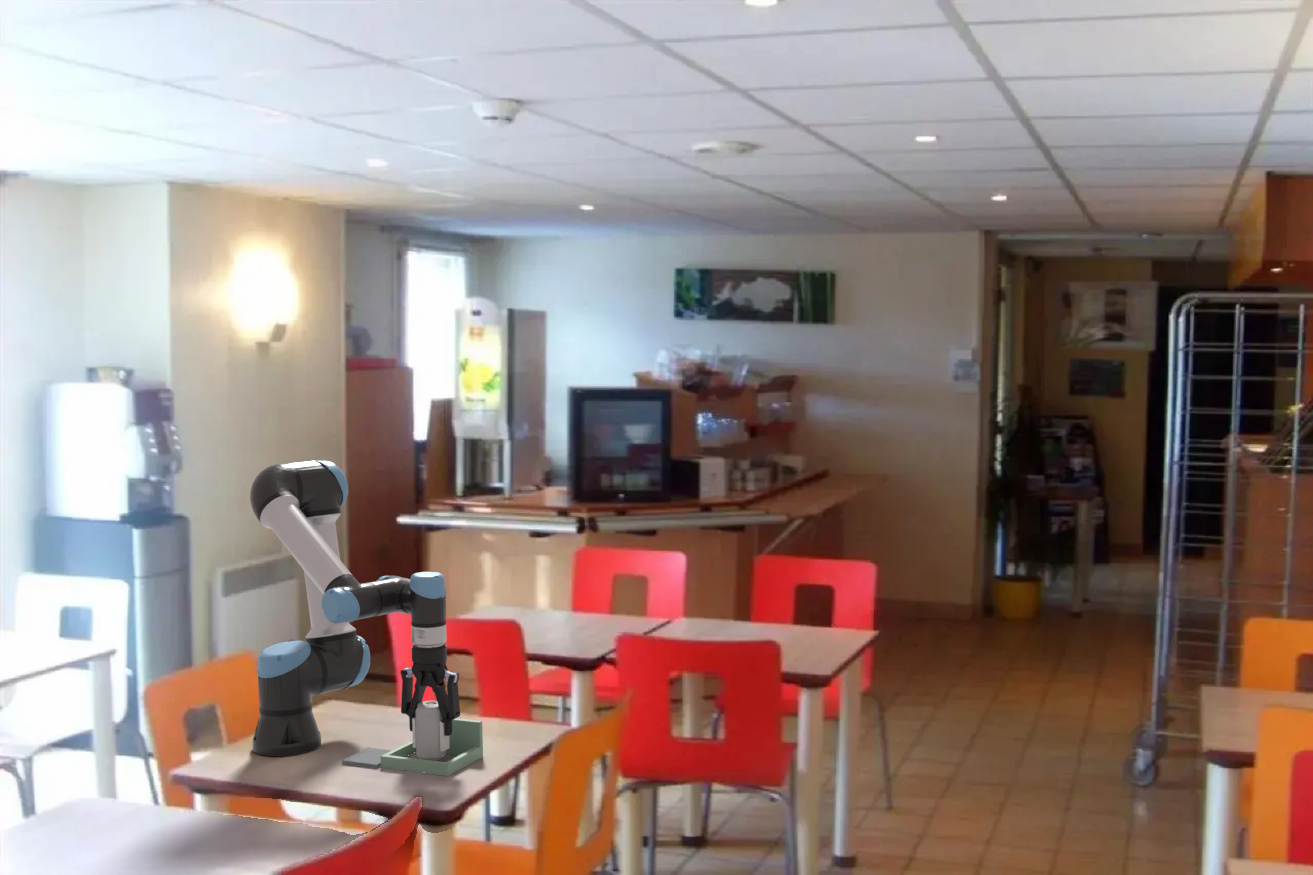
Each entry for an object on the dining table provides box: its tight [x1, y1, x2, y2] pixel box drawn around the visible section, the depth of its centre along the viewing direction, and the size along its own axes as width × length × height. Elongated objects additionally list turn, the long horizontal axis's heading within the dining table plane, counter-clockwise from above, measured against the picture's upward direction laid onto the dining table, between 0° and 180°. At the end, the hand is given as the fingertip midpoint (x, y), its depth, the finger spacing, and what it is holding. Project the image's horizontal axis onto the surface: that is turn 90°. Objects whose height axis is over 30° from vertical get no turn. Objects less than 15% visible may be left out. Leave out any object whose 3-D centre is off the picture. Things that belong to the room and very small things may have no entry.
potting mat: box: [341, 747, 393, 769], centre depth 298 cm, size 9×10×1 cm
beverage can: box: [415, 700, 447, 761], centre depth 295 cm, size 6×6×12 cm
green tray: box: [380, 717, 484, 777], centre depth 295 cm, size 17×14×8 cm
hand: (431, 747), depth 295 cm, fingers closed on beverage can, 6 cm apart
